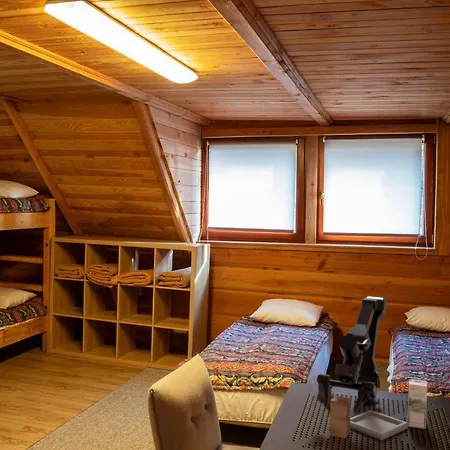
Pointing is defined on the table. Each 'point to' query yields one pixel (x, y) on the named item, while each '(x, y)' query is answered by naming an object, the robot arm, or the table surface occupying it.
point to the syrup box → (417, 403)
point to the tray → (377, 424)
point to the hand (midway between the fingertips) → (340, 409)
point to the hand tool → (322, 395)
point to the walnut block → (340, 416)
